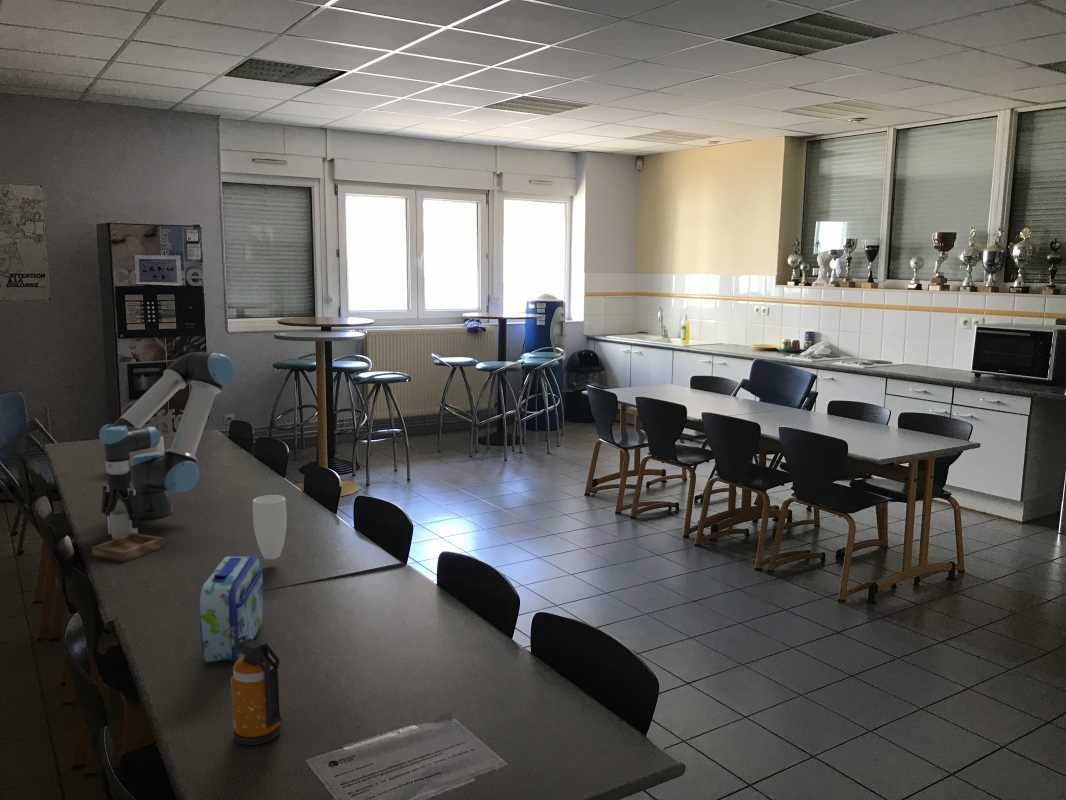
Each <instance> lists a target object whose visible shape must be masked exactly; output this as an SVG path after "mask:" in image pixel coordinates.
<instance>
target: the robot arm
mask: <svg viewBox="0 0 1066 800" xmlns="http://www.w3.org/2000/svg"><path fill="white" fill-rule="evenodd" d="M234 375H235V367H234V365H233V361H232V360H231V358H230V357H229V356H227V355H226V354H223V353H217V352H200V351H191V352H188V353H186V354H184V355H182V356H180V357H179V358H177V359H176V360H175V361H173V363H171V364H170V365H169V366H167V367H166V369H165V370H163V374H162V376H161V377H160V378H159V379H158V380H157V381H156V382H155V383H154V384H153V385H152V386H151V387H150V388H149V389H148V390H146V392H145V393H144V394H143V395H141V396H140V398H139V399H138V400H137V401H135V403H133V404H132V406H130V408H128V409H127V410H126V411H125V412H124V413H123V414H122V415H121V416H120V417H119V418H118V419H117V420H116V421H115V422H113V423H108V424H105V425H103V426H101V428H100V429H99V434H98V437H99V440H100V441H101V442H102V443H103V448H104V449H103V450H104V459H105V470H106V474H105V475H106V483H107V485H103V486H102V501H101V508H100V512H101V514H104V515H105V516H106V524H107V528H108V529H107V530H108V535H112V532H111V519H110V512H112V511H115V510H116V506H117V504H118V500H120V501H121V503H123V505H124V507H125V509H126V510H127V512H128V514H129V516H130V519H129V531H130V533H138V534H139V532H138V531H139V529H138V527H139V520H150V519H151V520H152V519H158V518H163V517H167V516H169V515H171V514H172V513H173V512H174V507H173V504H172V502H171V500H170V497H169V495H168V492H171V493H184V492H188V491H189V490H191V489H192V488H194V487H195V485H196V484H197V482H198V479H199V475H200V471H199V467H198V465H197V462H198V459H197V456H196V452H197V450H198V449H197V448H198V446H199V444H200V441H201V438H202V434H203V432H204V429H205V427H206V423H207V420H208V418H209V415H210V412H211V409H212V406H213V404H214V401H215V398H216V395H217V394H218V395H219V394H220V393H222V390H223V388H224V386H226V385H228V384H229V383H231V382H232V381H233V379H234ZM188 385H191V391H190V394H189V396H188V400H187V402H186V404H185V407H184V411H183V413H182V416H181V419H180V421H179V424H178V427H177V429H176V433H175V436H174V438H173V441H172V443H171V447H170V448H168V449H166V450H164V453H163V452H151V453H145V454H140V455H136V456H133V457H132V458H131V460H130V452H134V451H139V450H144V449H150V448H152V447H155V446H157V445H158V444H159V442H160V434H161V433H160V431H159V430H158V428H156V427H154V426H144V425H145V424H146V423H147V422H148V421H149V420H150V419H151V418H152V417H153V416H154V414H157V412H158V411H159V410H160V409H161V408H162V407H163V406H164V405H165V404H166V403H167V402H168V401H169V400H170V399H172V397H173V396H174V395H175V394H176V393H177V392H178V391H179V390H183V389H185V388H186V387H187V386H188ZM143 426H144V427H143ZM159 433H160V434H159ZM130 470H131V472H130ZM130 483H131V486H130ZM167 491H168V492H167ZM133 514H134V516H133Z"/></svg>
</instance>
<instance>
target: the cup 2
mask: <svg viewBox="0 0 1066 800" xmlns="http://www.w3.org/2000/svg"><path fill="white" fill-rule="evenodd" d="M287 514H288V513H287V504H286V497H285V496H283V495H280V494H279V495H277V494H269V495H261V496H260V495H259V496H258V497H255V498H254V499H252V521H253V522H252V524H253V531H254V535H255V539H256V542H257V545H258V546H257V547H259V550H260V553H261V555H262V556H263V558H264V559H265V560H276V559H279V558H280V556H281V555H282V551H283V547H284V544H285V541H286V533H287V516H288V515H287Z"/></svg>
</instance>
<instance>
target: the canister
mask: <svg viewBox="0 0 1066 800" xmlns="http://www.w3.org/2000/svg"><path fill="white" fill-rule="evenodd" d="M236 646H237V648H238V649H241V653H242V654H244V655H245V656H243V657H241V658H240V659H238V660H237V661H236V662H235V661H234V665H233V667H232V671H233V675H232V676H231V677H230V691H231V709H232V724H233V727H232V728H233V738H234V740H235V741H236V742H237V743H238V744H242V745H249V746H250V745H252V746H253V745H260V744H264V743H267V742H270V741H271V740H273V739H276V737H278V735H279V734H280V733H281V730H282V723H281V722H282V721H283V719H282V717H281V704H280V703H281V701H280V700H281V699H280V682H279V681H280V679H279V666H280V661H281V660H280V658H279V657H278V656H277V654H276V653H275V652H274V650H272V648H271V647H270V646H269V645H268V643H267V642H266V643H262V642H259V641H256V640H254V639H251V638H249V639H246V640H244V641H241V642H240V643H238V644H236Z"/></svg>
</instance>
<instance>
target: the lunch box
mask: <svg viewBox="0 0 1066 800" xmlns="http://www.w3.org/2000/svg"><path fill="white" fill-rule="evenodd" d="M263 604H264V597H263V568H262V566H261V561H260V557H259V555H258V554H257V555H256V554H253V555H249V556H248V555H247V556H225V557H224V558H223V559H222V561H220V563H219V564H218V565H217V567H216V568H215V569H214V571H213V572H212V573H211V574H210V575H209V577H208V579H207V580H206V581H205V582H204V583H203V585H202V586H201V589H200V593H199V598H198V627H199V628H198V629H199V636H200V643H201V650H202V658H203V660H204V662H206V663H210V662H219V661H228V660H229V661H233V662H234V663H235V662H236V661H237V660H238V659H240V658H241V657H243V656H245V655H244V654H242V653H241V649H238V648H237V646H236V644H238V643H240V642H241V641H244V640H246V639H249V638H251V639H253V640H254V639H255V637H256V635H257V633H258V631H259V629H260V627H261V624H262V619H263V606H264V605H263Z"/></svg>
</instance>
